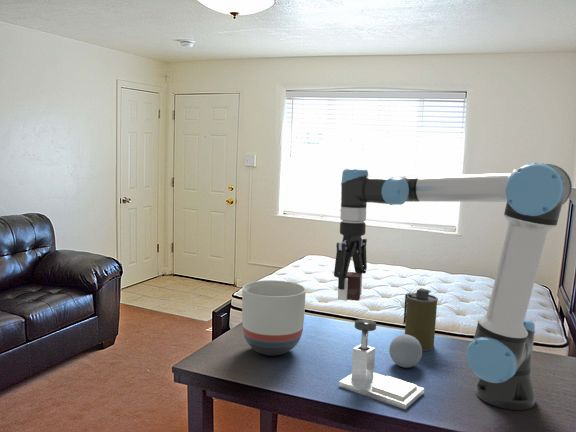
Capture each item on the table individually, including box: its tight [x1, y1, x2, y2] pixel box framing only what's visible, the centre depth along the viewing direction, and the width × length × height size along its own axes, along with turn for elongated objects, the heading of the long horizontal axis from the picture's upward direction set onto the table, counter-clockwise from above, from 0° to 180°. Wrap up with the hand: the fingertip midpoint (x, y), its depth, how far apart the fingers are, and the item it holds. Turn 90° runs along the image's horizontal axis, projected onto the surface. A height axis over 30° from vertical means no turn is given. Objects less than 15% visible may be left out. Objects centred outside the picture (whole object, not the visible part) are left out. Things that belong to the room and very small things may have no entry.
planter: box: [241, 279, 307, 356], centre depth 166 cm, size 20×20×21 cm
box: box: [346, 271, 361, 302], centre depth 152 cm, size 6×6×7 cm
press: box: [338, 343, 425, 410], centre depth 142 cm, size 20×12×10 cm, turn 53°
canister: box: [403, 287, 439, 352], centre depth 177 cm, size 11×10×20 cm
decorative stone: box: [388, 333, 423, 369], centre depth 159 cm, size 10×10×10 cm
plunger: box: [354, 318, 377, 351], centre depth 145 cm, size 6×6×13 cm
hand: (349, 296), depth 153 cm, fingers closed on box, 8 cm apart
